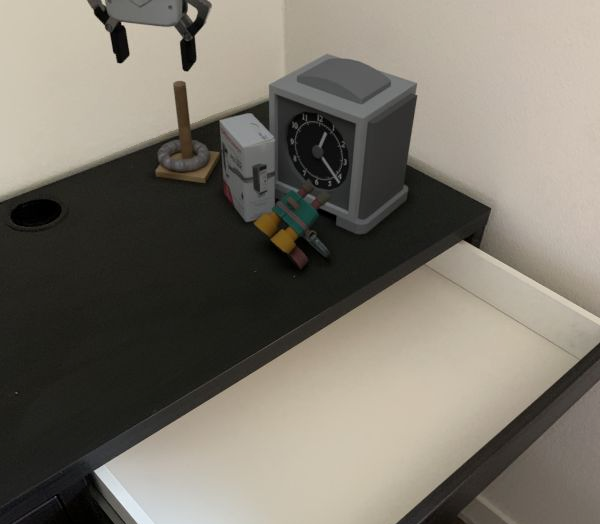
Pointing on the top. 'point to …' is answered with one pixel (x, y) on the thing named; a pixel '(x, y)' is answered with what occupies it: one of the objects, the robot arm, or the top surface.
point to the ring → (183, 164)
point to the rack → (186, 143)
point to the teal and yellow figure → (294, 223)
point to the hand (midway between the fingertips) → (155, 63)
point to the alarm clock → (343, 137)
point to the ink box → (248, 165)
